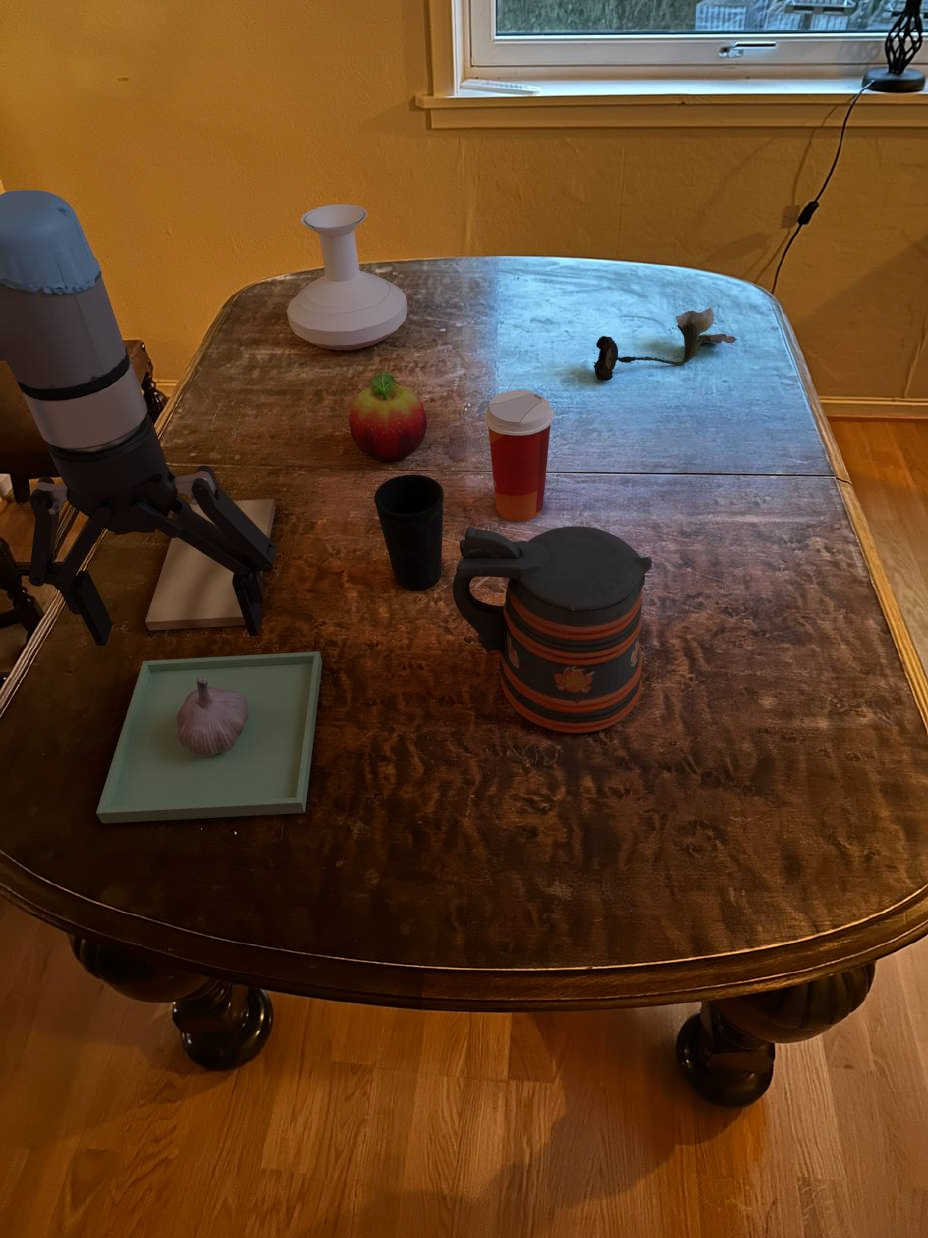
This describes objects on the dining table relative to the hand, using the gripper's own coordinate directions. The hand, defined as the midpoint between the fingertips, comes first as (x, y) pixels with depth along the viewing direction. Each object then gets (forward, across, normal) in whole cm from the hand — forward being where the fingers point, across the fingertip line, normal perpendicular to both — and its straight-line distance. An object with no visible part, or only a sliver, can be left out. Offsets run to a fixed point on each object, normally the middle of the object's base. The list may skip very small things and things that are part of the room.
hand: (180, 630), depth 79 cm
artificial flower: (+16, -58, -70) cm, 92 cm away
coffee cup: (+16, -33, -35) cm, 50 cm away
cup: (+16, -20, -23) cm, 34 cm away
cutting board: (+15, +5, -27) cm, 32 cm away
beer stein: (+16, -34, -5) cm, 38 cm away
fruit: (+16, -16, -50) cm, 55 cm away
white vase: (+16, -8, -86) cm, 88 cm away
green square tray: (+16, 0, 0) cm, 16 cm away
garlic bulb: (+15, 0, 0) cm, 15 cm away
